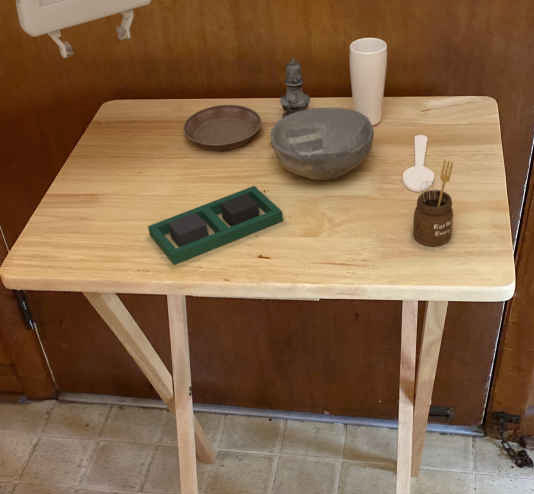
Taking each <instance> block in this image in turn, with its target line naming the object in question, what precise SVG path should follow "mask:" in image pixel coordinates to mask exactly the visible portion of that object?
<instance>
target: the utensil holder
mask: <svg viewBox="0 0 534 494" xmlns="http://www.w3.org/2000/svg"><path fill="white" fill-rule="evenodd" d="M446 162H447V163H446ZM453 165H454V162H453V161H451V162H450V160H447V159H444V160H443V163H442V166H441V167H442V168H441V171H440V175H439V179H440V180H441V183H442V184H441V188H440V190H439V189H437V186H436V183H435V182H433V184H432V185H431V187H432V189H428V190H424V191H421V190H422V185H421V188H420V192H419V195H418V197H417V202H416V207H415V209H414V213H413V224H412V225H413V227H412V229H413V230H412V232H413V238H414V239H415V240H416V242H418V243H419V244H420V245H424V246H425V247H426V246H427V247H439V246H442V245H444V244H446V243H448V242H449V241H450V239H451V236H452V232H453V222H454V211H453V200H452V197H451V196H450V194H448V193H447V192H445V191H444V190H445V185H446V183H448V182H450V181H451V176H452V170H453ZM427 183H429V181H428V182H427V181H426V185H425V186H426V188H427ZM431 183H432V181H431ZM424 184H425V183H424ZM429 184H430V183H429ZM433 185H434V186H433ZM428 187H429V185H428ZM424 188H425V187H424ZM429 188H430V187H429Z"/></svg>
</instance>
